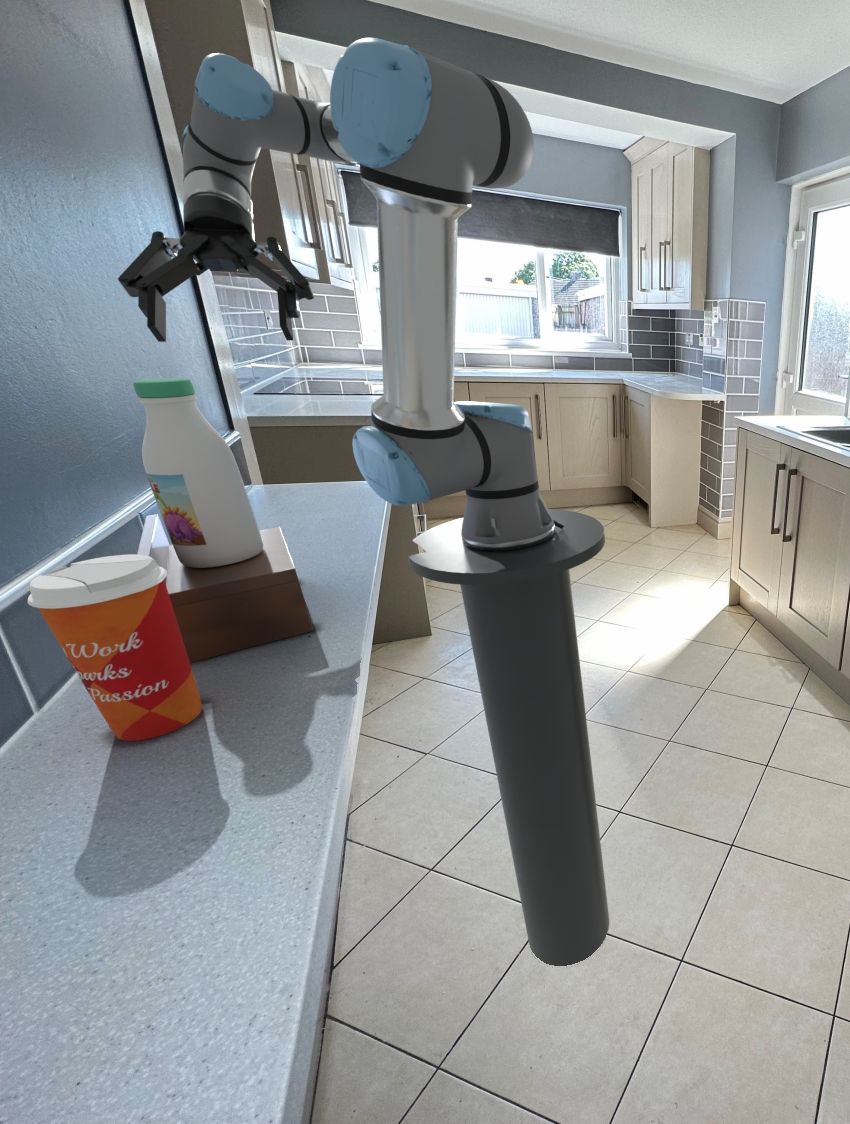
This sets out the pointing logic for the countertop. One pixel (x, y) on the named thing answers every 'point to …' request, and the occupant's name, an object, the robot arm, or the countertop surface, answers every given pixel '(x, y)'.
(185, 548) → the milk bottle
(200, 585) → the brown wooden box
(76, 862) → the countertop surface
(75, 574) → the coffee cup
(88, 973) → the countertop surface
